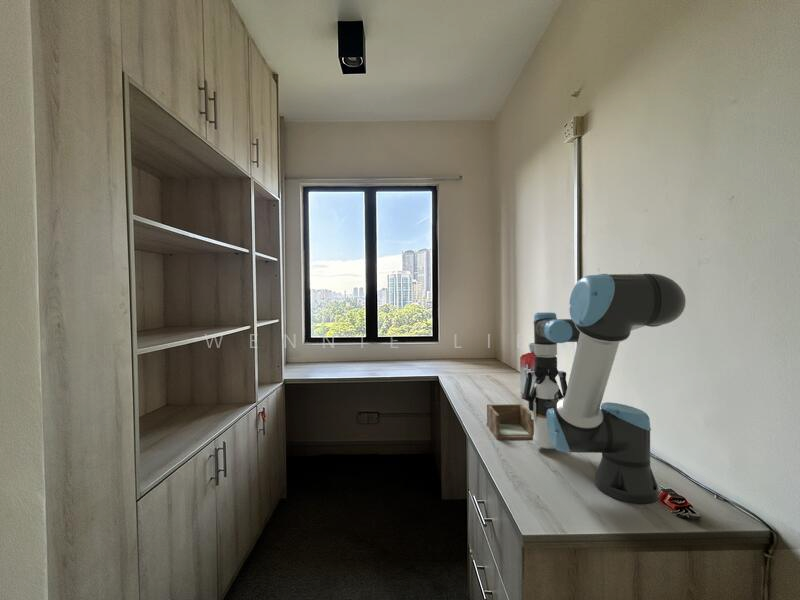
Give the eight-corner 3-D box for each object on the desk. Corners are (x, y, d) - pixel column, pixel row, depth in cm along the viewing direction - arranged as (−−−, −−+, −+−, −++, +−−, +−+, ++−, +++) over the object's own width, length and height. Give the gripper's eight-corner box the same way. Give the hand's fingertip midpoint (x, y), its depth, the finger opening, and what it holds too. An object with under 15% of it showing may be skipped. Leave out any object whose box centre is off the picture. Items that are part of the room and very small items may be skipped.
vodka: (543, 437, 138) (542, 357, 138) (566, 445, 130) (565, 360, 130) (527, 443, 132) (526, 359, 133) (550, 451, 125) (549, 362, 125)
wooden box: (534, 439, 141) (534, 415, 141) (497, 439, 141) (496, 416, 140) (520, 424, 157) (520, 403, 157) (486, 425, 157) (486, 404, 156)
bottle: (518, 398, 198) (518, 342, 198) (534, 396, 201) (534, 341, 201) (536, 405, 184) (535, 345, 184) (553, 403, 187) (552, 344, 187)
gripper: (570, 353, 135) (571, 415, 135) (512, 354, 135) (513, 416, 135) (580, 356, 128) (581, 422, 128) (519, 357, 128) (520, 423, 127)
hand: (546, 419), depth 131 cm, fingers closed on vodka, 8 cm apart
